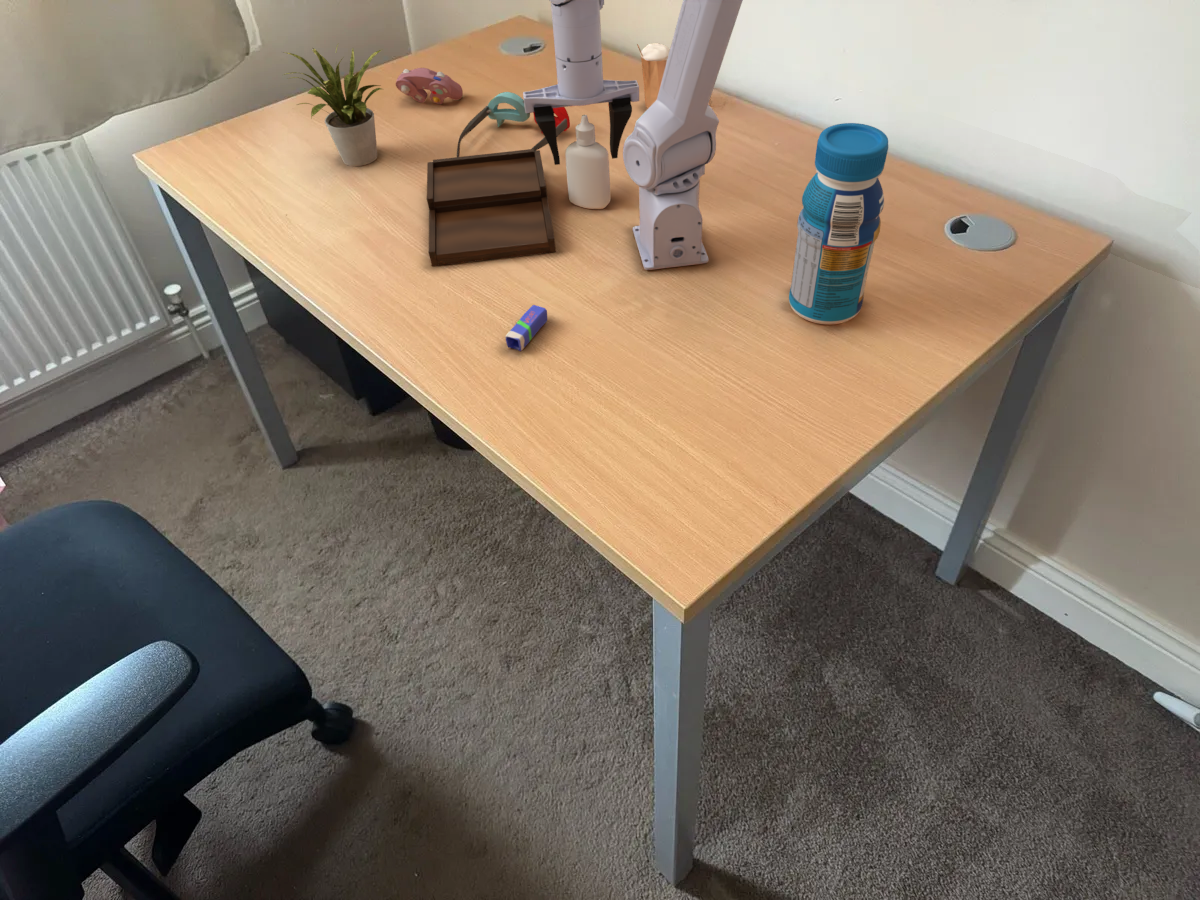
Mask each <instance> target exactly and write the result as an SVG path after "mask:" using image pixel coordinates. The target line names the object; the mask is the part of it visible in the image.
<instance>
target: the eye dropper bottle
mask: <svg viewBox="0 0 1200 900" xmlns="http://www.w3.org/2000/svg"><path fill="white" fill-rule="evenodd" d="M575 137H576V138H575V139H576V140H575V141H572V142H571V143H569V145H568V146H567V147H566V148H565V169H566V183H567V193H568V194H567V195H568V200H569V202H570V203H571V204H573V205H575V206H577V207H579V208H584V209H590V210H603V209H605V208H607V206H608V205H609V204H610V203H611V201H612V200H611V199H612V197H611V195H612V194H611V177H610V176H611V175H610V174H611V173H610V158H609V151H608V149H607V148H606V147H605V146H603V145H602V144H600V142H597V141H596V126H595V124H593V123H592V122H590V121H589V118H588V114H582V115H581V119H580V123H578V124H577V125H576V126H575Z"/></svg>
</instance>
